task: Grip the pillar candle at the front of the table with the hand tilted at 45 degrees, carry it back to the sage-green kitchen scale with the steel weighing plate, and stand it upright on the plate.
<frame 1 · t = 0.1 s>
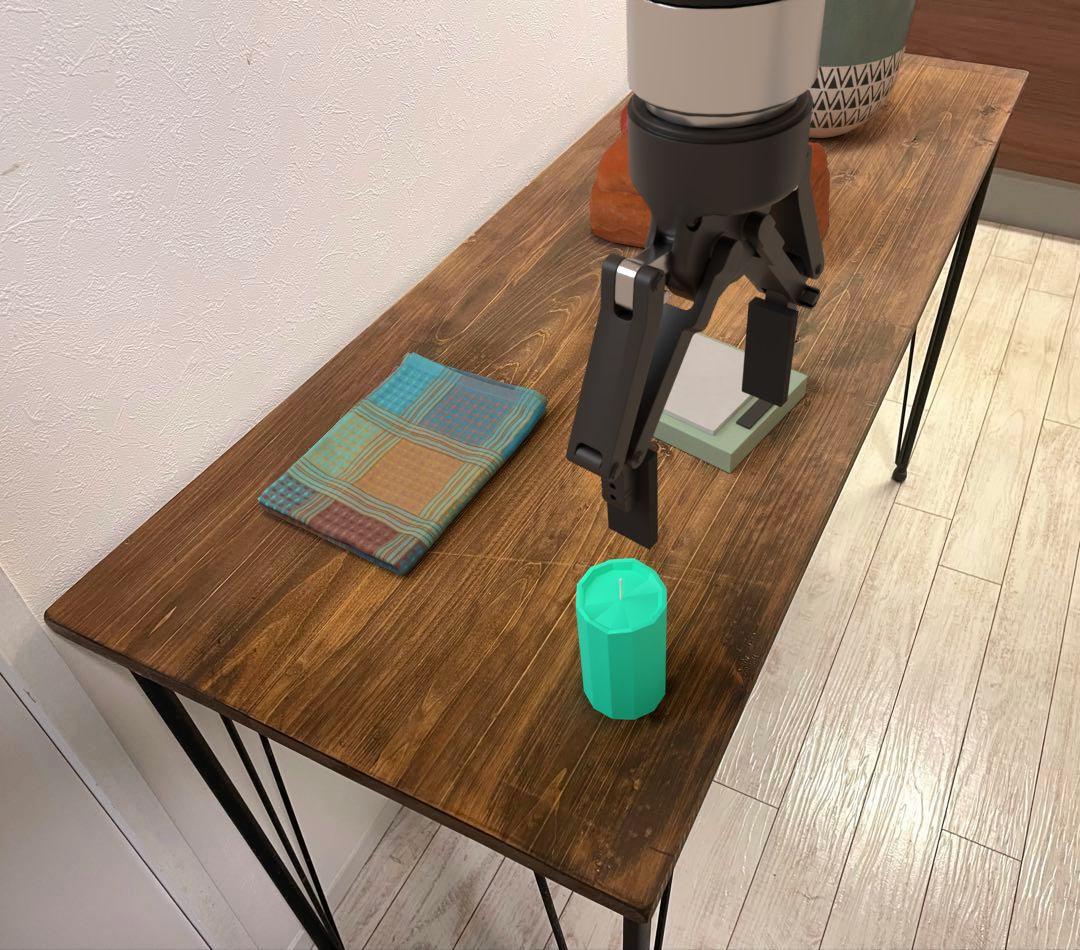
hand: (702, 461, 52), 21 cm above the table, tool pointing down, fingers open, 13 cm apart
dish towel: (412, 461, 85), on the table
red round fruit: (647, 147, 126), on the table
bread: (707, 230, 109), on the table
candle: (624, 684, 66), on the table
scale: (708, 406, 87), on the table
planter: (817, 129, 125), on the table
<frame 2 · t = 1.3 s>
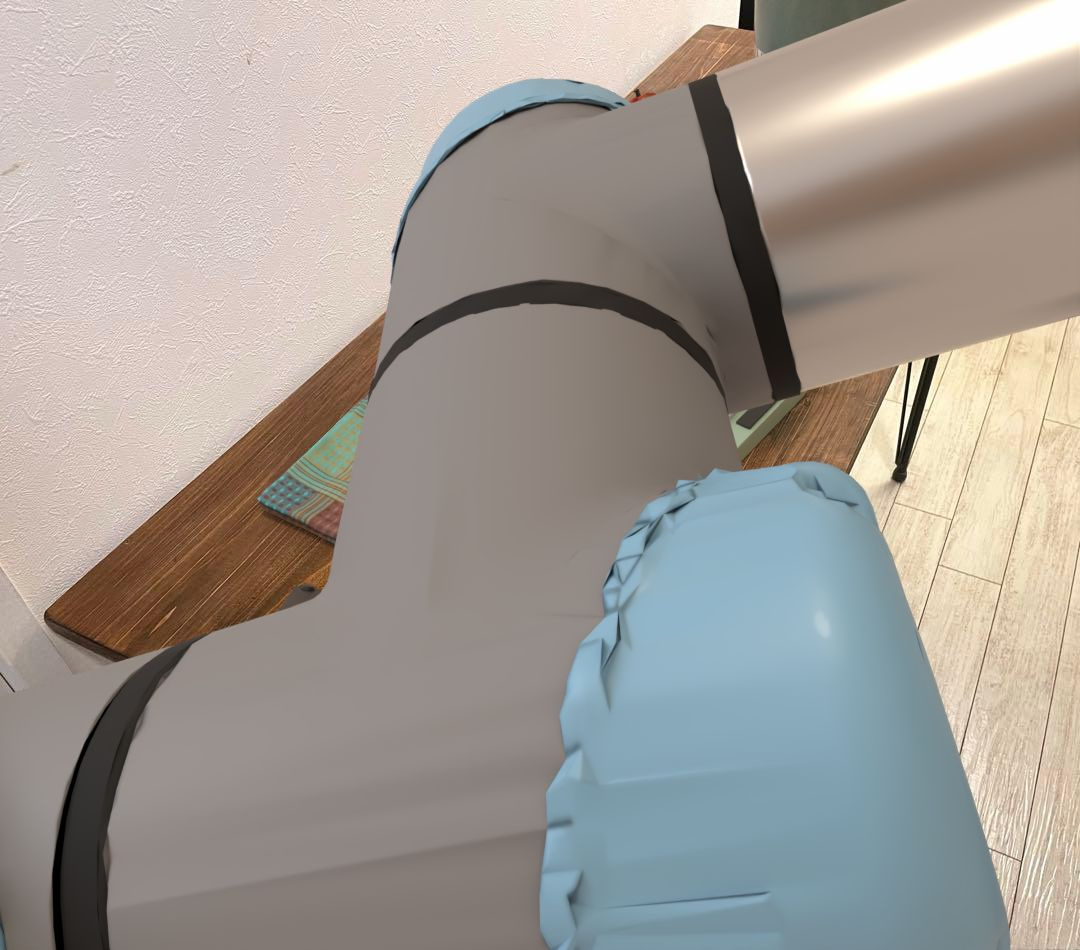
hand: (552, 641, 46), 20 cm above the table, tool tilted 45°, fingers open, 13 cm apart
nothing on the table moved.
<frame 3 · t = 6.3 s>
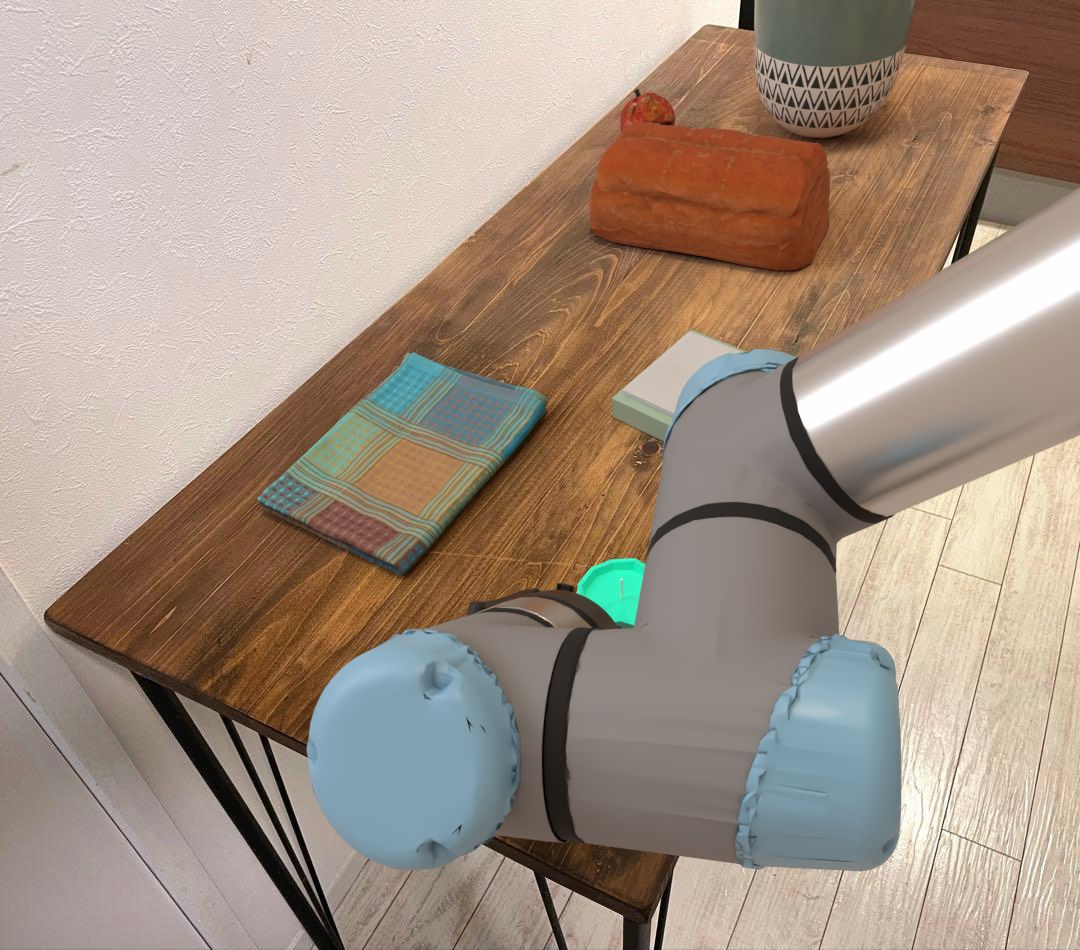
hand: (638, 614, 66), 4 cm above the table, tool tilted 45°, fingers closed on candle, 5 cm apart
candle: (624, 684, 66), on the table, touching gripper
everything else where it was.
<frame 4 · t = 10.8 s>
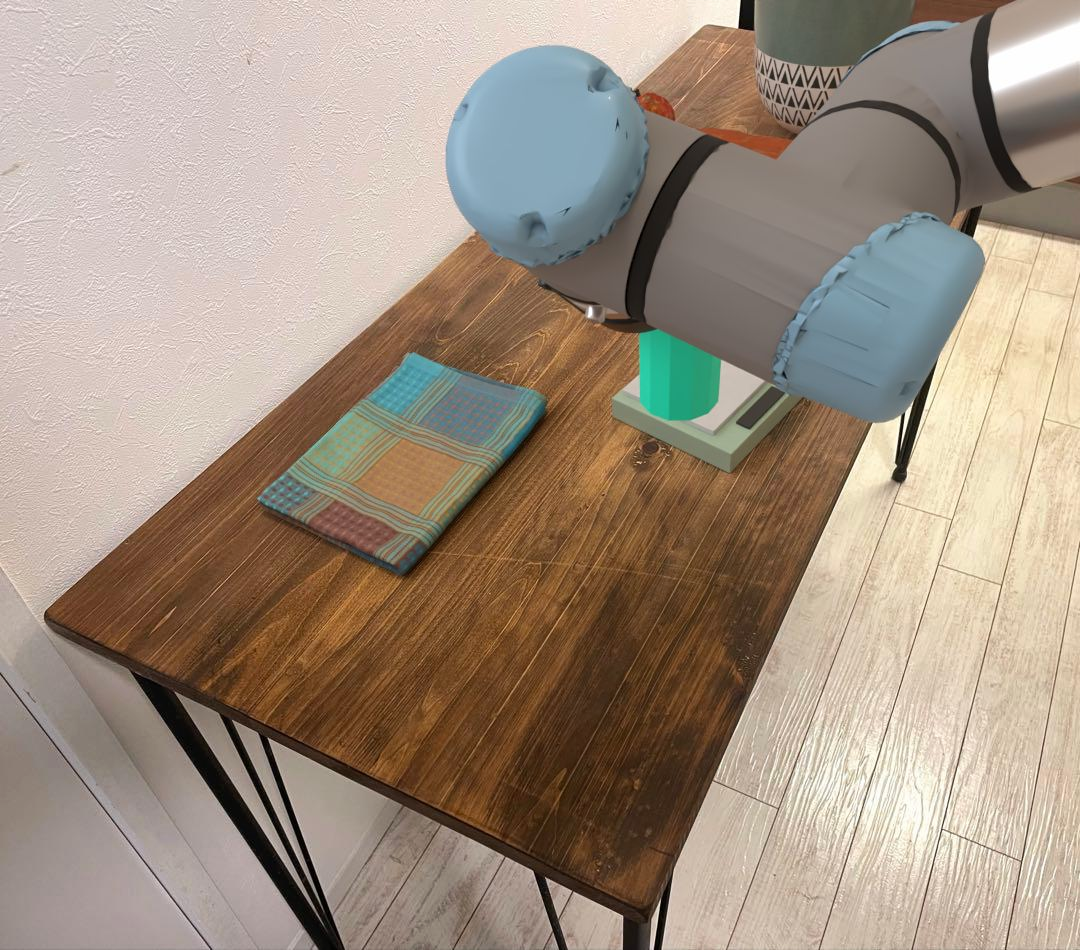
hand: (691, 327, 69), 16 cm above the table, tool tilted 45°, fingers closed on candle, 5 cm apart
candle: (678, 397, 69), point 13 cm above the table, touching gripper
everything else where it was.
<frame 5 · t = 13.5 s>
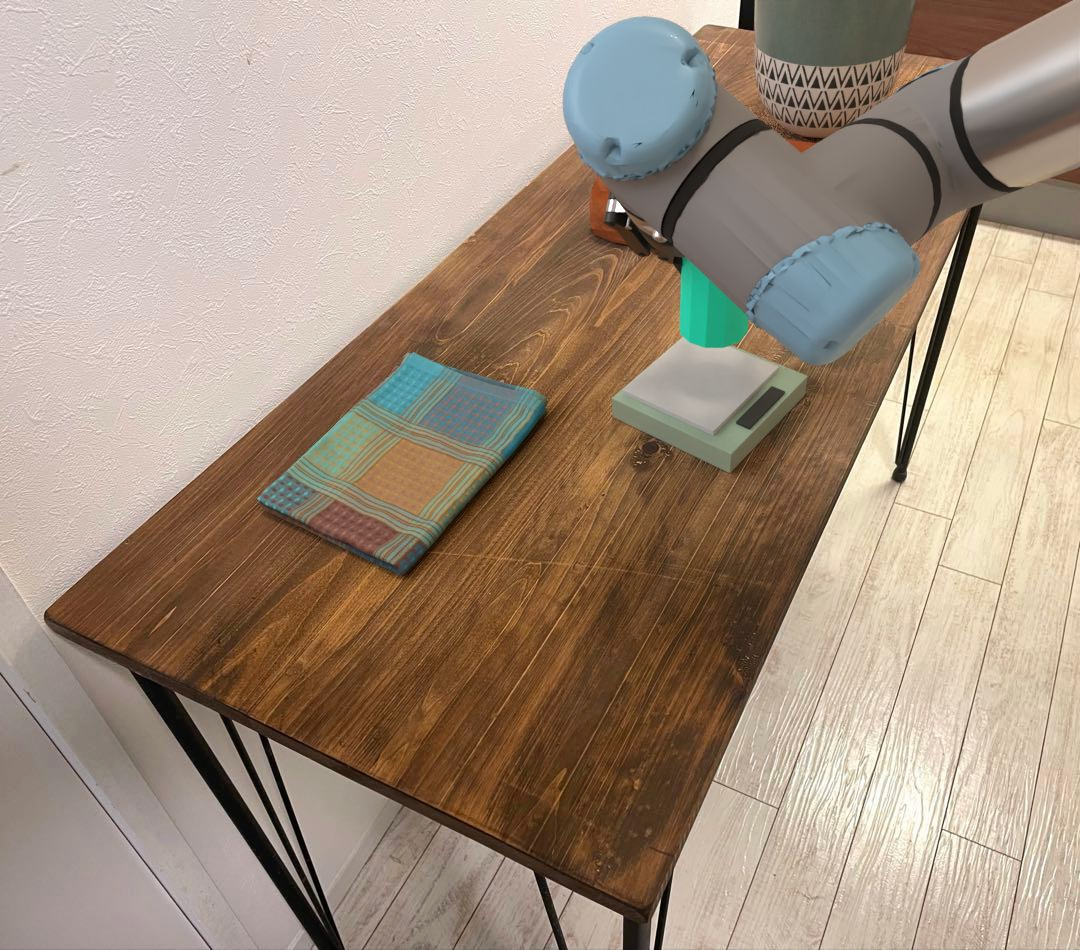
hand: (724, 270, 80), 13 cm above the table, tool tilted 45°, fingers closed on candle, 5 cm apart
candle: (713, 329, 80), point 9 cm above the table, touching gripper
everything else where it was.
when the fingers open (7 cm above the table, at t = 15.5 s): candle stays where it is, resting on scale.
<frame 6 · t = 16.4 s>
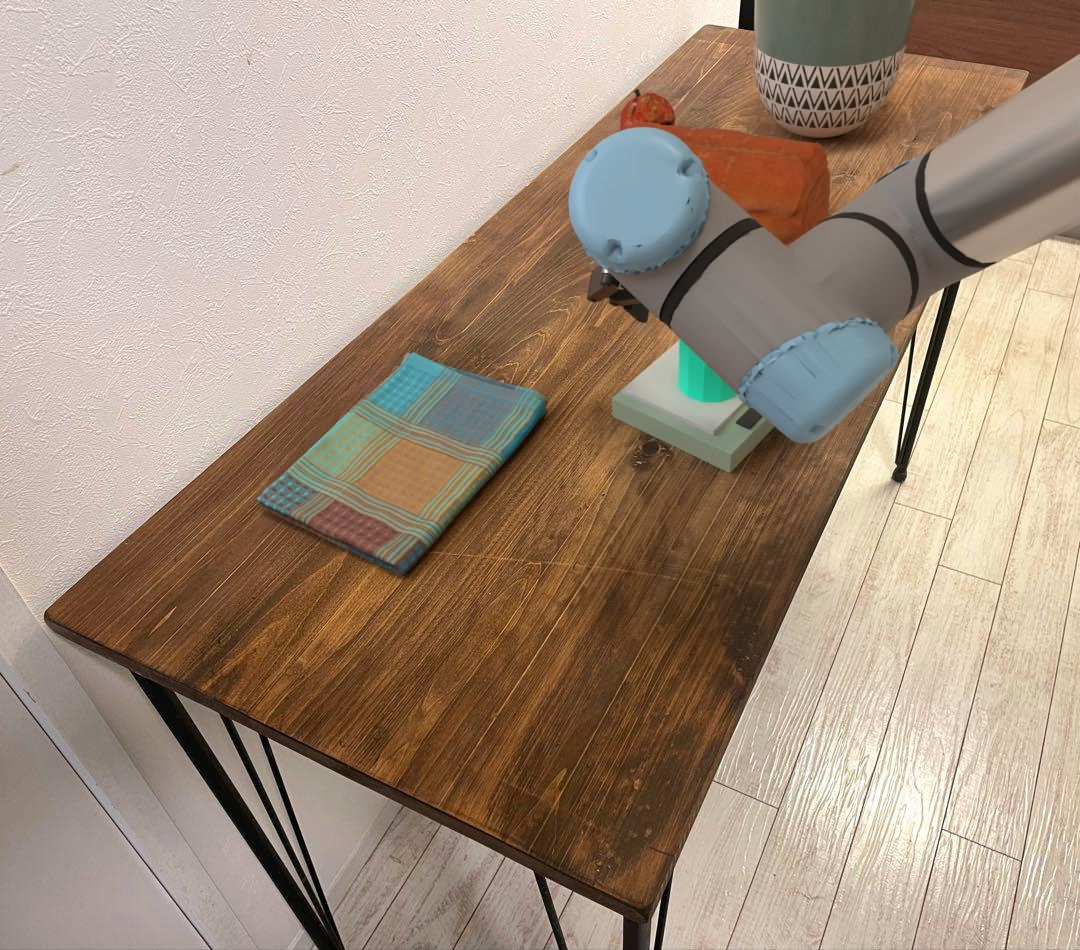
hand: (719, 318, 82), 8 cm above the table, tool tilted 45°, fingers open, 13 cm apart
candle: (710, 383, 85), point 3 cm above the table, touching scale
everything else where it was.
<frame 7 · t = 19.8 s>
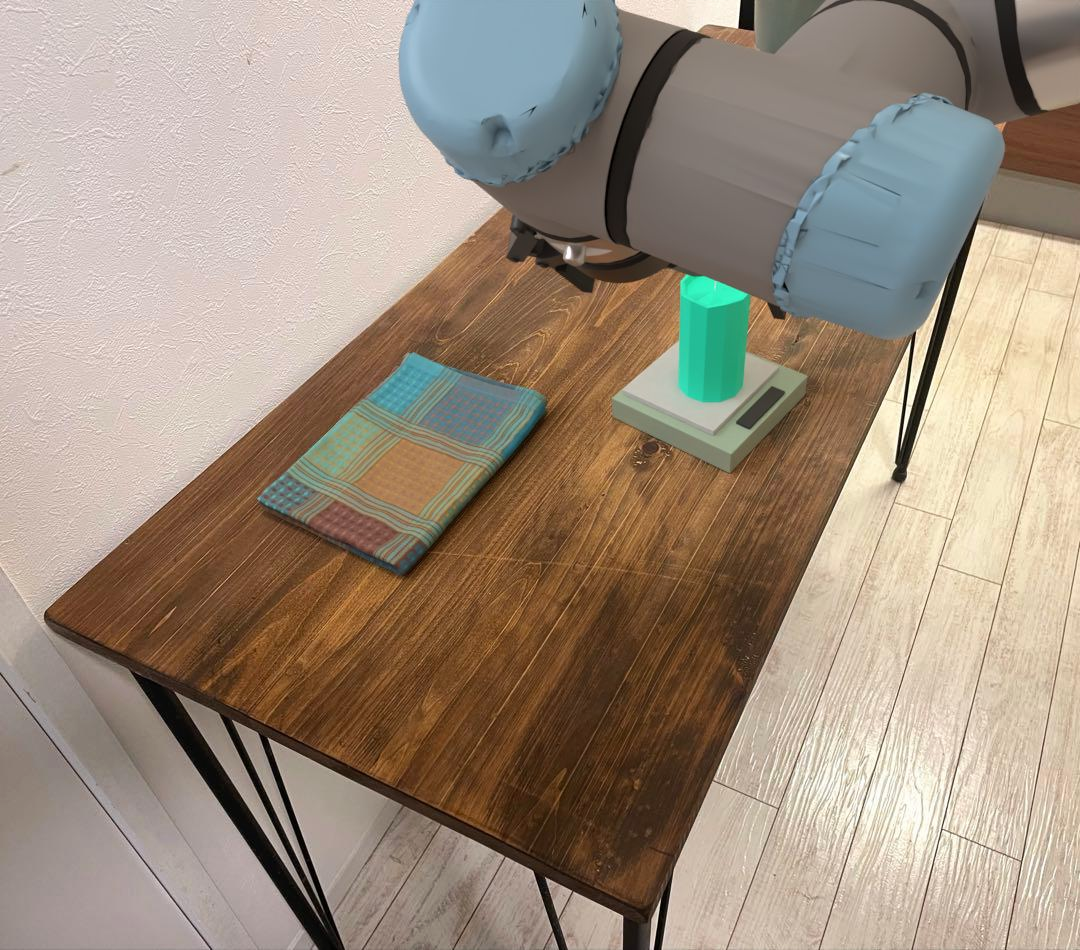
hand: (683, 286, 63), 22 cm above the table, tool tilted 45°, fingers open, 13 cm apart
nothing on the table moved.
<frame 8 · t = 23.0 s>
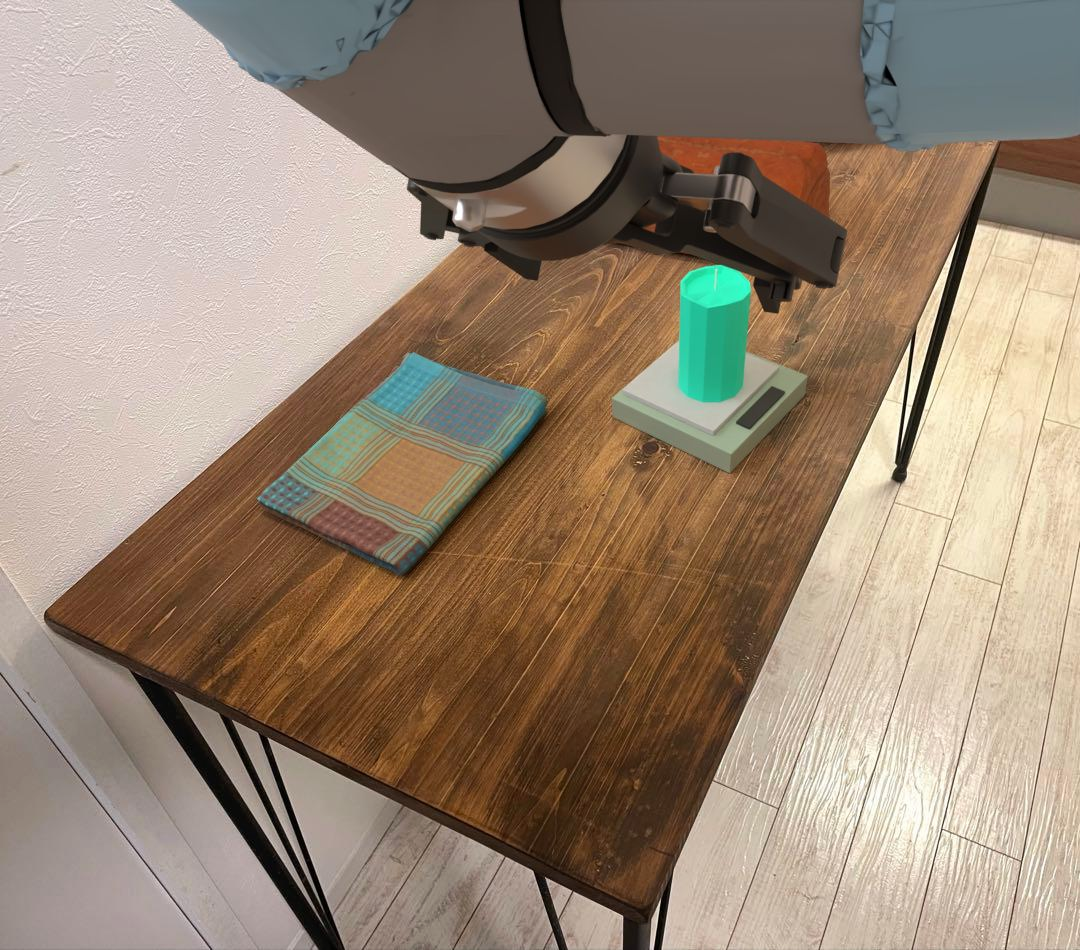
hand: (651, 271, 50), 30 cm above the table, tool tilted 45°, fingers open, 13 cm apart
nothing on the table moved.
at the end: candle inside the target area on the scale (1.0 cm from its centre), point 2.8 cm above the scale's base; candle tilted 0°; the gripper is holding nothing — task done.
